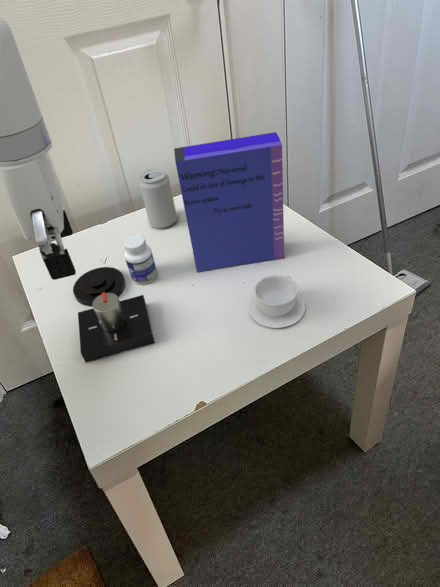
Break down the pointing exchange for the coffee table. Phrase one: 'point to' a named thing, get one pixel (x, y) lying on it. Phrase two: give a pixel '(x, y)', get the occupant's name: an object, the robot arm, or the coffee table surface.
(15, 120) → the robot arm
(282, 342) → the coffee table surface
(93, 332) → the black angular base
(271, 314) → the teacup
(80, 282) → the burner
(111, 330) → the hob knob
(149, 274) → the pill bottle
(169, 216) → the beverage can
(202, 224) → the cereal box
